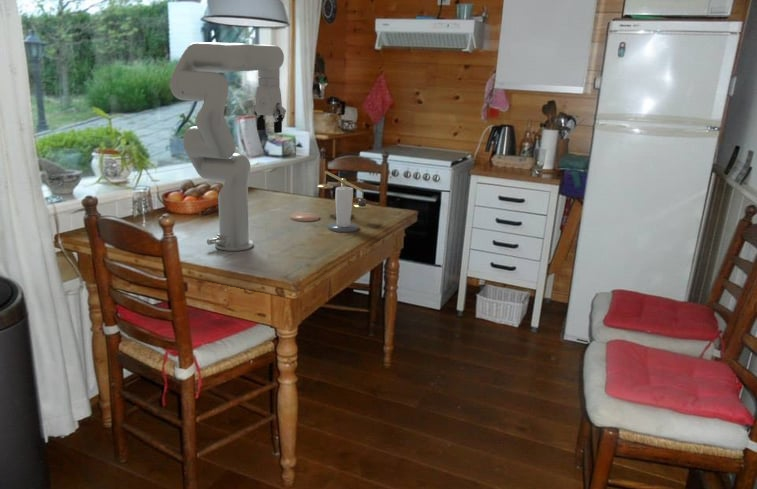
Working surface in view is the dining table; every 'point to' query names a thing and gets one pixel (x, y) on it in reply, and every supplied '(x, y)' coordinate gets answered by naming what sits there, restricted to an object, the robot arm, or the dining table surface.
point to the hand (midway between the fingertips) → (269, 131)
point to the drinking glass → (343, 205)
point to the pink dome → (304, 216)
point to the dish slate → (342, 228)
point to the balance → (361, 202)
